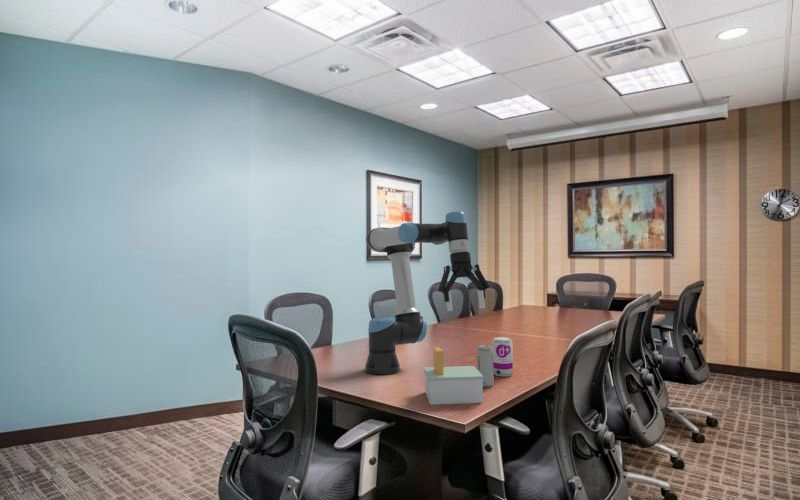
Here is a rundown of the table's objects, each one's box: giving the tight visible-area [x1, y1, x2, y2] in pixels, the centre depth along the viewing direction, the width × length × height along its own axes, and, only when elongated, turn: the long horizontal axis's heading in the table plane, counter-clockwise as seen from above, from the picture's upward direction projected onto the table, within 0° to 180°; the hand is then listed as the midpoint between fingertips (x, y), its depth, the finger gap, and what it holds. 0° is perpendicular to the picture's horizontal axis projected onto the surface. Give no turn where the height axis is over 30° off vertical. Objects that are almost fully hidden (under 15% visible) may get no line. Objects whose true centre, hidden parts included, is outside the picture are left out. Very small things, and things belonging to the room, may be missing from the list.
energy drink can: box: [476, 344, 495, 388], centre depth 174 cm, size 6×6×15 cm
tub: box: [424, 372, 484, 405], centre depth 160 cm, size 18×14×8 cm
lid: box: [423, 346, 484, 381], centre depth 160 cm, size 19×15×10 cm
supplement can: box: [491, 336, 514, 378], centre depth 189 cm, size 8×8×15 cm
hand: (466, 309), depth 166 cm, fingers open, 13 cm apart
